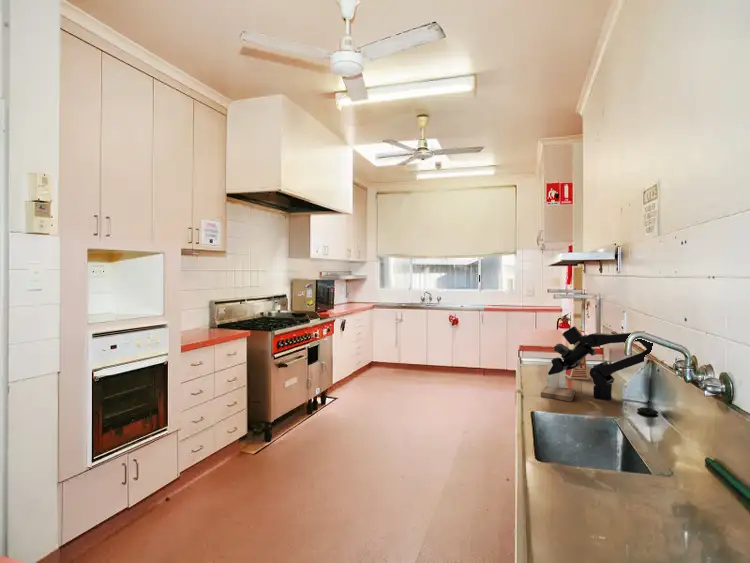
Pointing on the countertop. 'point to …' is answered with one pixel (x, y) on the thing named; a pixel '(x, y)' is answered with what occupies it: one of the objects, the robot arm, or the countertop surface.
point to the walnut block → (558, 393)
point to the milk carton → (578, 368)
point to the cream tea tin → (555, 378)
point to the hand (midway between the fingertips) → (553, 372)
